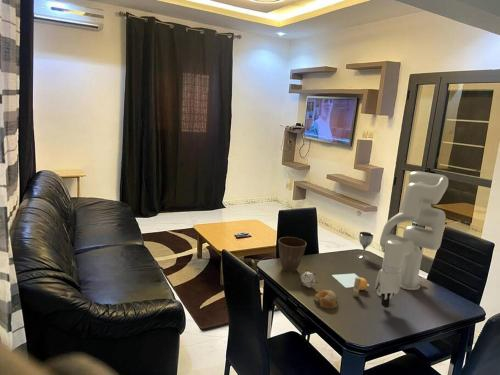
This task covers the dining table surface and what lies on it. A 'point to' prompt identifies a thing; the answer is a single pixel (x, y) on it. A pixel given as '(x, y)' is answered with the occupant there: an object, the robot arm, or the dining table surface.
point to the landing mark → (346, 279)
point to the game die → (308, 279)
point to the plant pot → (291, 252)
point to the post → (356, 286)
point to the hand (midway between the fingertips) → (384, 306)
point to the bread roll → (326, 299)
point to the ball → (363, 284)
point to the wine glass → (365, 242)
